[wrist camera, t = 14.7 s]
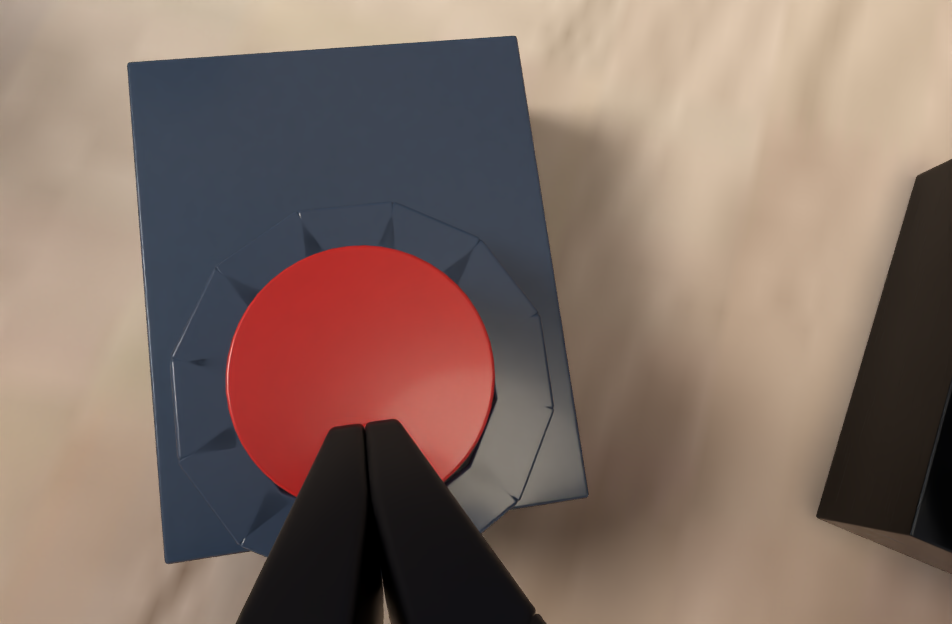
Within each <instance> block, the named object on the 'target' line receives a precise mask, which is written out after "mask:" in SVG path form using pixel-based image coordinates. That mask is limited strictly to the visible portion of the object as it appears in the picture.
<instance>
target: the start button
mask: <svg viewBox="0 0 952 624" xmlns="http://www.w3.org/2000/svg"><path fill="white" fill-rule="evenodd" d="M225 381H226V397H227V404H228V410H229V413H230V417H231V420H232V423H233V427H234V429H235V431H236V433H237V436H238V438H239V440H240V442H241V444H242V446H243V447H244V449H245V450H246V452H247V453H248V455H249V457H250V458H251V460H252V461H253V462H254V463H255V464H256V465H257V467H258V468H259V469H260V470H261V471H262V472H263V473H264V474H265V475H266V476H267V477H268V478H269V479H270V480H272V481H273V482H274V483H275V484H276V485H278V486H279V487H281V488H282V489H284V490H285V491H287V492H288V493H290V494H291V495H293V496H295V497H297V496H298V493H299V491H300V489H301V487H302V485H303V483H304V481H305V479H306V477H307V475H308V473H309V471H310V469H311V467H312V465H313V462H314V460H315V458H316V456H317V454H318V452H319V450H320V448H321V446H322V444H323V442H324V440H325V438H326V436H327V434H328V432H329V430H330V429H332V428H333V427H337V426H344V425H351V424H362V425H363V426H364V429H365V426H366V424H367V423H368V422H373V421H380V420H388V419H396V420H398V421H399V422H400V423H401V424H402V426H403V427H404V428H405V430H406V431H407V432H408V434H409V435H410V437H411V438H412V439H413V441H414V442H415V443H416V445H417V446H418V448H419V449H420V450H421V452H422V453H423V455H424V456H425V457H426V459H427V460H428V461H429V463H430V464H431V466H432V467H433V468H434V470H435V471H436V472H437V474H438V475H439V477H440V478H441V479H442V481H443V482H445V481H446V480H447V479H448V478H449V477H450V476H451V475H452V474H453V473H455V472H456V471H457V470H458V469H459V467H460V466H461V465H462V464H463V463H464V461H465V460H466V459H467V458H468V457H469V455H470V454H471V452H472V451H473V449H474V447H475V446H476V444H477V443H478V441H479V439H480V437H481V435H482V433H483V431H484V428H485V426H486V423H487V420H488V417H489V414H490V411H491V407H492V402H493V396H494V387H495V367H494V356H493V352H492V347H491V342H490V339H489V336H488V333H487V330H486V328H485V325H484V323H483V321H482V319H481V317H480V315H479V313H478V311H477V309H476V308H475V306H474V305H473V303H472V302H471V300H470V299H469V297H468V296H467V295H466V294H465V293H464V292H463V290H462V289H461V288H460V287H459V286H458V285H457V284H456V283H455V282H454V281H453V280H452V279H451V278H449V277H448V276H447V275H446V274H445V273H444V272H442V271H441V270H439V269H438V268H436V267H435V266H433V265H432V264H430V263H428V262H426V261H424V260H422V259H420V258H418V257H416V256H414V255H411V254H408V253H406V252H403V251H400V250H396V249H391V248H386V247H381V246H369V245H357V246H344V247H338V248H333V249H329V250H325V251H322V252H319V253H315V254H313V255H311V256H308V257H306V258H304V259H302V260H299V261H297V262H296V263H294V264H293V265H291V266H289V267H288V268H286V269H284V270H283V271H282V272H280V273H279V274H278V275H277V276H275V277H274V278H273V279H272V280H270V281H269V282H268V283H267V284H266V285H265V286H264V287H263V288H262V290H261V291H260V292H259V293H258V294H257V295H256V296H255V298H254V299H253V300H252V302H251V303H250V304H249V306H248V307H247V309H246V310H245V312H244V314H243V316H242V318H241V319H240V321H239V323H238V325H237V328H236V330H235V333H234V335H233V338H232V341H231V345H230V349H229V353H228V357H227V365H226V374H225Z"/></svg>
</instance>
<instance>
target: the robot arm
mask: <svg viewBox="0 0 952 624" xmlns="http://www.w3.org/2000/svg"><path fill="white" fill-rule="evenodd" d="M382 579H383V584H382ZM383 586H384V592H385V598H386V603H387V608H388V613H389V618H390V622H391V624H546V622H545V621H544V620H543V618H542V617H541V616H540V615H539V614H535V608H534V606H533V605H532V604H531V602H530V601H529V600H528V598H527V597H526V595H525V594H524V593H523V591H522V590H521V589H520V587H519V586H518V584H517V583H516V582H515V580H514V579H513V577H512V576H511V575H510V573H509V572H508V571H507V569H506V568H505V566H504V565H503V564H502V562H501V561H500V560H499V558H498V557H497V555H496V554H495V553H494V551H493V550H492V548H491V547H490V546H489V544H488V543H487V542H486V540H485V539H484V537H483V536H482V535H481V533H480V532H479V530H478V529H477V528H476V526H475V525H474V524H473V522H472V521H471V519H470V518H469V517H468V515H467V514H466V513H465V511H464V510H463V508H462V507H461V506H460V504H459V503H458V501H457V500H456V499H455V497H454V496H453V495H452V493H451V492H450V490H449V489H448V488H447V486H446V485H445V484H444V482H443V481H442V479H441V478H440V477H439V475H438V474H437V472H436V471H435V470H434V468H433V467H432V466H431V464H430V463H429V461H428V460H427V459H426V457H425V456H424V455H423V453H422V452H421V450H420V449H419V448H418V446H417V445H416V443H415V442H414V441H413V439H412V438H411V437H410V435H409V434H408V432H407V431H406V430H405V428H404V427H403V426H402V424H401V423H400V422H399V421H398V420H396V419H388V420H380V421H373V422H368V423H367V424H366V426H365V429H364V426H363V425H362V424H351V425H344V426H337V427H333V428H332V429H330V430H329V432H328V434H327V436H326V438H325V440H324V442H323V444H322V446H321V448H320V450H319V452H318V454H317V456H316V458H315V460H314V462H313V465H312V467H311V469H310V471H309V473H308V475H307V477H306V479H305V481H304V483H303V485H302V487H301V489H300V491H299V493H298V496H297V498H296V500H295V502H294V504H293V506H292V508H291V510H290V512H289V514H288V516H287V518H286V520H285V522H284V524H283V527H282V529H281V531H280V533H279V535H278V537H277V539H276V541H275V543H274V545H273V547H272V549H271V551H270V553H269V556H268V558H267V560H266V562H265V564H264V566H263V568H262V570H261V572H260V574H259V576H258V578H257V580H256V582H255V584H254V587H253V589H252V591H251V593H250V595H249V597H248V599H247V601H246V603H245V605H244V607H243V609H242V611H241V613H240V616H239V618H238V620H237V622H236V624H383V618H384V609H383Z"/></svg>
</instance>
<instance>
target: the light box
mask: <svg viewBox="0 0 952 624" xmlns="http://www.w3.org/2000/svg"><path fill="white" fill-rule="evenodd" d="M816 517H817V518H818V519H821V520H823V521H825V522H828V523H830V524H833V525H835V526H837V527H840V528H842V529H845V530H847V531H849V532H852V533H854V534H857V535H859V536H861V537H864V538H866V539H869V540H871V541H873V542H876V543H878V544H881V545H883V546H885V547H888V548H890V549H893V550H895V551H897V552H900V553H902V554H905V555H907V556H909V557H912V558H914V559H917V560H919V561H921V562H924V563H926V564H929V565H931V566H933V567H936V568H938V569H941V570H943V571H945V572H948V573H950V574H952V159H951V160H949V161H947V162H944V163H942V164H940V165H938V166H936V167H934V168H932V169H930V170H928V171H926V172H924V173H922V174H920V175H918V176H917V177H916V180H915V184H914V187H913V190H912V194H911V197H910V200H909V204H908V207H907V211H906V214H905V217H904V221H903V224H902V227H901V231H900V234H899V238H898V241H897V244H896V248H895V251H894V255H893V258H892V261H891V265H890V268H889V271H888V275H887V278H886V282H885V285H884V288H883V292H882V295H881V299H880V302H879V305H878V309H877V312H876V315H875V319H874V322H873V326H872V329H871V332H870V336H869V339H868V342H867V346H866V349H865V353H864V356H863V359H862V363H861V366H860V370H859V373H858V376H857V380H856V383H855V386H854V390H853V393H852V397H851V400H850V403H849V407H848V410H847V413H846V417H845V420H844V424H843V427H842V430H841V434H840V437H839V441H838V444H837V447H836V451H835V454H834V457H833V461H832V464H831V468H830V471H829V474H828V478H827V481H826V484H825V488H824V491H823V495H822V498H821V501H820V505H819V508H818V512H817V515H816Z"/></svg>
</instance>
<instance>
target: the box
mask: <svg viewBox="0 0 952 624" xmlns="http://www.w3.org/2000/svg"><path fill="white" fill-rule="evenodd" d="M127 70H128V83H129V96H130V109H131V122H132V136H133V149H134V162H135V175H136V189H137V202H138V215H139V228H140V241H141V255H142V268H143V281H144V294H145V307H146V321H147V334H148V347H149V360H150V373H151V387H152V400H153V413H154V426H155V439H156V453H157V466H158V479H159V492H160V505H161V519H162V532H163V545H164V558H165V562H166V564H173V563H179V562H185V561H192V560H198V559H204V558H211V557H217V556H223V555H230V554H236V553H242V552H249V551H253V552H255V553H258V554H260V555H263V556H265V557H268V556H269V553H270V551H271V549H272V547H273V545H274V543H275V541H276V539H277V537H278V535H279V533H280V531H281V529H282V527H283V524H284V522H285V520H286V518H287V516H288V514H289V512H290V510H291V508H292V506H293V504H294V502H295V500H296V498H297V497H295V496H293V495H291V494H290V493H288V492H287V491H285V490H284V489H282V488H281V487H279V486H278V485H276V484H275V483H274V482H273V481H272V480H270V479H269V478H268V477H267V476H266V475H265V474H264V473H263V472H262V471H261V470H260V469H259V468H258V467H257V465H256V464H255V463H254V462H253V461H252V460H251V458H250V457H249V455H248V453H247V452H246V450H245V449H244V447H243V446H242V444H241V442H240V440H239V438H238V436H237V433H236V431H235V429H234V427H233V423H232V420H231V417H230V413H229V410H228V404H227V397H226V381H225V374H226V365H227V357H228V353H229V349H230V345H231V341H232V338H233V335H234V333H235V330H236V328H237V325H238V323H239V321H240V319H241V318H242V316H243V314H244V312H245V310H246V309H247V307H248V306H249V304H250V303H251V302H252V300H253V299H254V298H255V296H256V295H257V294H258V293H259V292H260V291H261V290H262V288H263V287H264V286H265V285H266V284H267V283H268V282H269V281H270V280H272V279H273V278H274V277H275V276H277V275H278V274H279V273H280V272H282V271H283V270H284V269H286V268H288V267H289V266H291V265H293V264H294V263H296V262H297V261H299V260H302V259H304V258H306V257H308V256H311V255H313V254H315V253H319V252H322V251H325V250H329V249H333V248H338V247H344V246H357V245H369V246H381V247H386V248H391V249H396V250H400V251H403V252H406V253H408V254H411V255H414V256H416V257H418V258H420V259H422V260H424V261H426V262H428V263H430V264H432V265H433V266H435V267H436V268H438V269H439V270H441V271H442V272H444V273H445V274H446V275H447V276H448V277H449V278H451V279H452V280H453V281H454V282H455V283H456V284H457V285H458V286H459V287H460V288H461V289H462V290H463V292H464V293H465V294H466V295H467V296H468V297H469V299H470V300H471V302H472V303H473V305H474V306H475V308H476V309H477V311H478V313H479V315H480V317H481V319H482V321H483V323H484V325H485V328H486V330H487V333H488V336H489V339H490V342H491V347H492V352H493V356H494V367H495V387H494V396H493V402H492V407H491V411H490V414H489V417H488V420H487V423H486V426H485V428H484V431H483V433H482V435H481V437H480V439H479V441H478V443H477V444H476V446H475V447H474V449H473V451H472V452H471V454H470V455H469V457H468V458H467V459H466V460H465V461H464V463H463V464H462V465H461V466H460V467H459V469H458V470H457V471H456V472H455V473H453V474H452V475H451V476H450V477H449V478H448V479H447V480H446V481H445V482H444V484H445V485H446V486H447V488H448V489H449V490H450V492H451V493H452V495H453V496H454V497H455V499H456V500H457V501H458V503H459V504H460V506H461V507H462V508H463V510H464V511H465V513H466V514H467V515H468V517H469V518H470V519H471V521H472V522H473V524H474V525H475V526H476V528H477V529H478V530H479V532H480V533H481V534H482V533H483V532H484V531H485V530H486V529H488V528H489V527H490V526H491V525H493V524H494V523H495V522H496V521H497V520H499V519H500V518H501V517H502V516H503V515H505V514H506V513H507V512H508V511H509V510H514V509H520V508H526V507H533V506H539V505H545V504H552V503H558V502H564V501H571V500H577V499H583V498H587V497H588V495H589V493H588V487H587V480H586V474H585V467H584V461H583V455H582V448H581V442H580V436H579V429H578V423H577V417H576V410H575V404H574V398H573V391H572V385H571V378H570V372H569V366H568V359H567V353H566V347H565V340H564V334H563V328H562V321H561V315H560V309H559V302H558V296H557V289H556V283H555V277H554V270H553V264H552V258H551V251H550V245H549V239H548V232H547V226H546V220H545V213H544V207H543V201H542V194H541V188H540V181H539V175H538V169H537V162H536V156H535V150H534V143H533V137H532V131H531V124H530V118H529V112H528V105H527V99H526V92H525V86H524V80H523V73H522V67H521V61H520V54H519V48H518V42H517V38H516V36H504V37H489V38H475V39H460V40H446V41H431V42H417V43H402V44H388V45H373V46H359V47H344V48H330V49H315V50H301V51H286V52H272V53H257V54H243V55H228V56H214V57H199V58H185V59H171V60H156V61H142V62H129V63H128V65H127Z"/></svg>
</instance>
